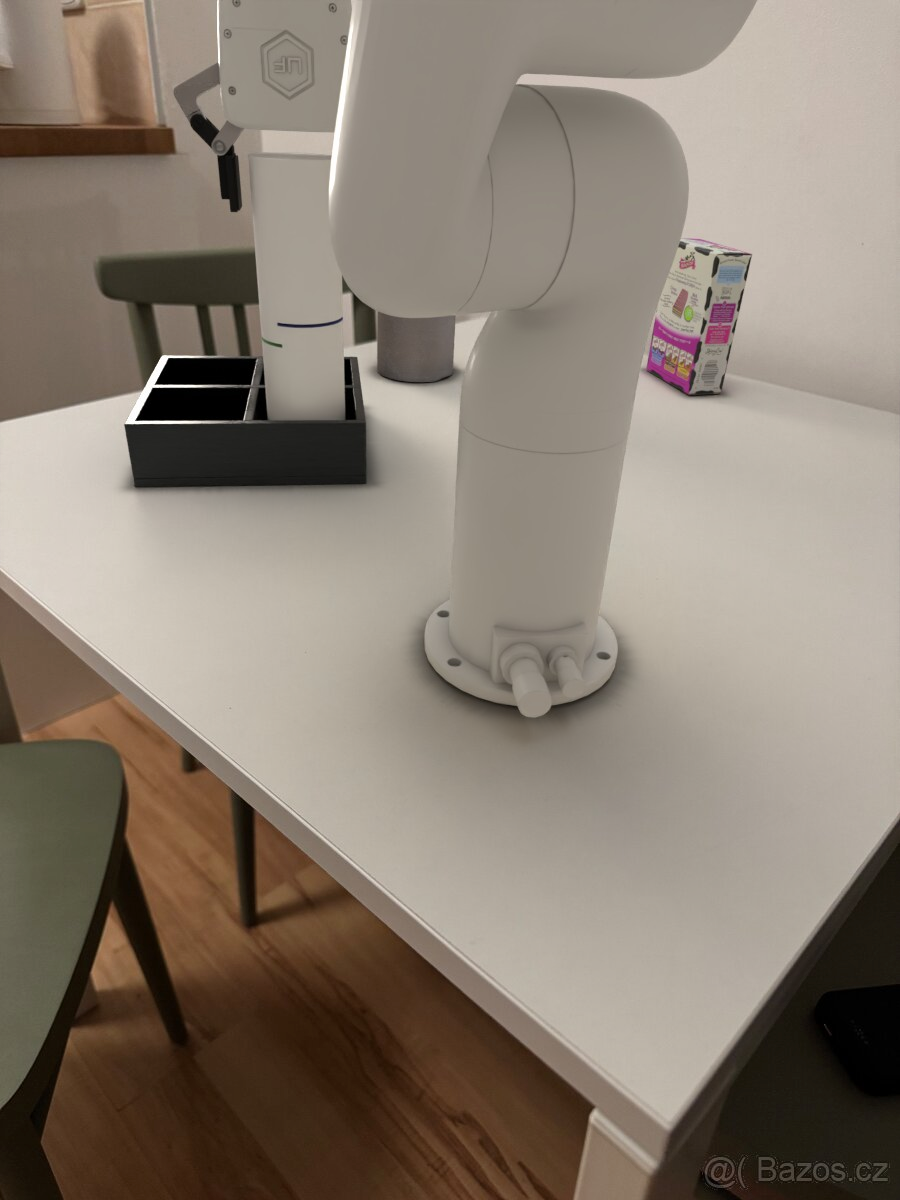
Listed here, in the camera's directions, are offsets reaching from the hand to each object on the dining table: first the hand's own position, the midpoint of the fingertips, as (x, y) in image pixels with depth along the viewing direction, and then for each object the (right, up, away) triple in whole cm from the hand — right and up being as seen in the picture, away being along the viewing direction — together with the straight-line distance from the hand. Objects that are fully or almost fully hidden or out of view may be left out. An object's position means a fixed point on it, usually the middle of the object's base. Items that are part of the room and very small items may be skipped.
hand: (296, 211), depth 69 cm
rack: (-6, -16, +15) cm, 23 cm away
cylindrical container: (-1, -18, +11) cm, 21 cm away
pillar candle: (+8, -3, +38) cm, 39 cm away
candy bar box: (+42, -4, +39) cm, 58 cm away
